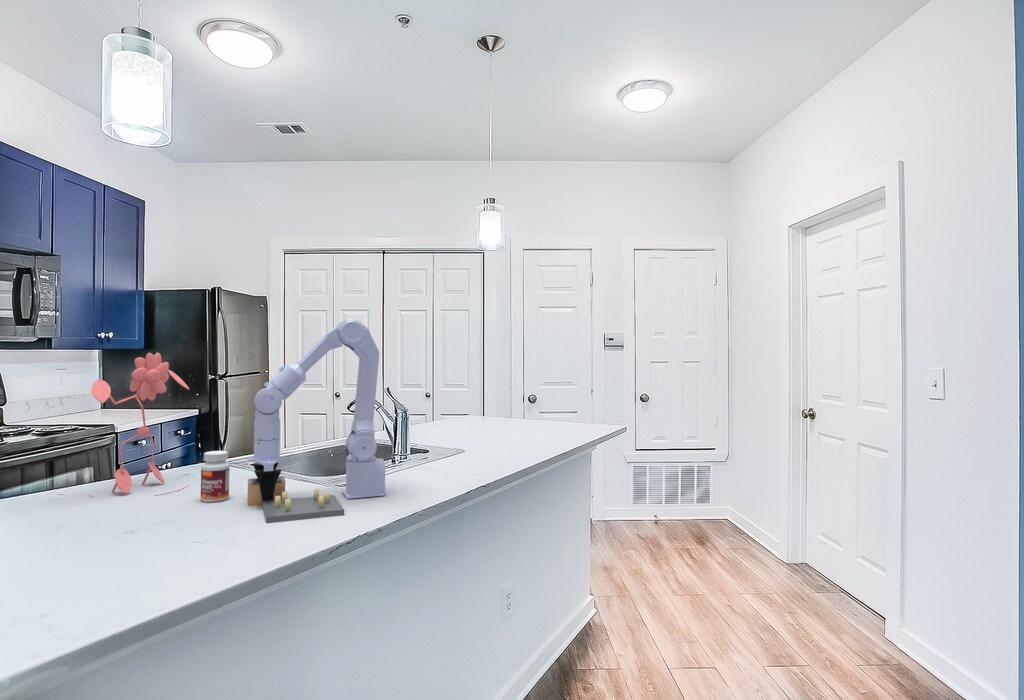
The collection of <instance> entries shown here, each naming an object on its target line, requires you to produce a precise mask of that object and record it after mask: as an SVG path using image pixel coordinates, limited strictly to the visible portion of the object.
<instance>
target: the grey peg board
mask: <svg viewBox="0 0 1024 700" xmlns="http://www.w3.org/2000/svg"><path fill="white" fill-rule="evenodd" d="M323 493H324V495H320V488H314V489H313V496H307V497H306V496H305V497H296V498H288V497H289V496H288V495H289V494H288V491H287V490H285V491H284V492H282V500H281V496H275V500H272V501H263V505H262V509H263V510H262V511H263V514H264V519H265V523H267V524H268V523H278V522H286V521H297V520H307V519H316V518H318V519H319V518H326V517H327V518H328V517H337V516H344V515H345V508H344V507H343V505H342V504H341V503H340V501H339V500H338V499H337V497H336V496H335V495H334V494H332V495H331V492H330V491H324V492H323Z"/></svg>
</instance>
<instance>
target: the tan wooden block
mask: <svg viewBox="0 0 1024 700" xmlns="http://www.w3.org/2000/svg"><path fill="white" fill-rule="evenodd" d="M284 491H286V478H285V476H284V475H282V476H279V477H278V479H277V482H276V485H275V490H274V495H273V498H272V500H275V496H281V500H282V492H284ZM246 500H247V506H248V507H253V506H254V507H255V506H263V501H272V500H262V496H261V490H260V484H259V480H258V478H257V477H255V478H247V499H246Z"/></svg>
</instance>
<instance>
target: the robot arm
mask: <svg viewBox="0 0 1024 700" xmlns="http://www.w3.org/2000/svg"><path fill="white" fill-rule="evenodd" d="M343 345H344V346H345V347H347V348H349V349H350V350H351V351H352V352H353V353H354V354H355V356H357V358H358V359H359V360H358V369H357V370H358V371H357V381H356V390H355V402H354V412H353V419H352V420H353V421H352V424H351V428H350V432H349V435H348V436H347V438H346V441H345V445H346V449H347V450H348V451H349V454H348V455H347V456H346V459H345V460H346V461H345V464H346V465H345V489H342V490H341V493H342V494H343V495H344V497H345V498H346V499H349V500H351V499H362V498H374V497H383V496H387V495H386V494H387V493H386V464H385V460H384V458H379V457H378V458H377V456H376V455H375V454H376V452H377V449H378V445H377V441H376V439H375V425H374V416H375V405H376V394H377V385H378V384H377V383H378V374H379V373H378V372H379V362H380V350H379V347H378V346H377V344H376V342H375V340H374V339H373V336H372V335H371V331H370V329H369V328H368V327H367V326H366V325H365V324H363V323H362V322H361V321H359V320H358V319H354V318H351V319H347V320H342V321H341V322H339V323H338V324H337V325H336V327H333V328H332V329H330V330H329V331H327V332H326V333H325V334H324V335H322V336H321V337H320V339H318V340H317V342H316V343H315V344H313V346H311V348H310V349H309V350H308V351H307V352H306V353H305V354H304V355H303V356H302V357H301V358H300V359H299V360H298V361H297V362H296V363H288V364H286V365H285V366H283V365H282V366H281V367H280V368H278V371H279V372H278V373H276V375H275V376H274V377H273V378H272V379H270V381H266V382H265V383H264V384H263V385H264V387H265V388H262V389H260V390H259V391H257V393H256V394H255V397H254V399H253V402H254V406H255V408H256V409H255V413H254V417H255V419H254V421H253V422H254V426H253V428H254V429H253V431H254V432H253V457H248V459H247V460H248V462H249V463H253V464H252V466H253V467H254V474H255V476H256V478H258V480H259V484H260V490H261V496H262V500H272V498H273V495H274V490H275V485H276V482H277V479H278V477H280V475H281V472H282V469H277V467H278V465H279V462H280V461H281V457H282V456H280V455H281V453H280V452H281V419H280V409H281V407H282V405H283V404H282V403H283V401H284V400H287V399H289V397H291V395H292V394H294V393H295V392H296V391H297V389H299V388H300V386H301V385H302V384H303V383H305V382H306V380H307V379H306V378H307V376H306V374H307V372H308V371H309V370H310V369H311V368H312V367H314V366H315V364H317V362H319V361H320V360H321V359H322V358H323V357H324V356H325V355H327V353H329V351H331V350H334V349H337V348H341V347H343Z"/></svg>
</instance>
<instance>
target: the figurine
mask: <svg viewBox="0 0 1024 700" xmlns="http://www.w3.org/2000/svg"><path fill="white" fill-rule="evenodd" d="M134 365H135V368H136V369H135V370H134V371H132V373H131V376H130V377H131V379H132V380H131V382H130V386H129V391H130V392H136V393H134V394H133V395H132V396H129V397H126V398H123V399H120V400H118V401H116V400H115V399H114V398H113V396H112V395H111V392H112V390H111V387H110V385H109V383H108V382H107V381H105V380H102V379H103V378H98V379H97V380H95V381H94V382H93V383H92V386H91V394H92V396H93V397H94V398H95V400H97V401H98V402H99V403H101V404H102V405H103V404H104V403H105V402H107V400H108V399H110V401H111V403H112V404H114V406H116V405H119V404H121V403H124V402H127V401H129V400H131V399H136V401H137V402H138V404H139V406H140V408H141V414H142V415H141V416H142V422H143V423H142V424H143V426H139V427H138V428H137V430H136V433H137V434H136V435H134V436H132V437H130V438H129V439H127V440H124V441H122V442H121V443H119V453H120V454H119V455H120V467H121V468H119V469H117V470H116V471H115V474H114V475H115V476H114V480H115V481H114V482H115V484H114V486H113V487H112V489H111V493H114V492H115V490H116V489H117V487H118V489H119V490H120V491H121V492H122V493H123V494H124V495H125V496H127V494H128V493H129V492H130V490H131V488H132V482H133V481H132V476H131V475H130V473H129V472H128V470H126V468H124V465H123V464H124V463H123V462H124V461H123V450H122V445H123V444H126V443H127V442H130V441H131V440H133V439H135V438H137V437H141V438H144V437H147V436H149V438H150V440H151V461H149V462H148V467H149V468H148V470H147V472H146V474H145V477H143V480H142V482H141V485H143V484H144V485H145V483H146V481H147V478H148V477H149V474H150V473H151V472H152V474H153V475H154V477H155V478H156V479H157V480H159V482H161V483H162V484H164V485H165V480H164V478H163V475H162V474H161V472H160V470H159V469H158V467H157V466H156V465H155V464H154V438H153V437H152V435H151V433H150V432H151V430H150V428H149V427H148V426H146V417H145V408H144V405H143V404H142V402H143V401H146V400H147V399H148V400H149V401H152V402H153V401H154V400H156V397H157V394H164V393H165V392H167V386H166V385H165V383H166V382H167V381H168V380H169V378H170V376H171V378H173V380H174V381H175V382H176V383H178V385H180V386H181V387H183V388H185V389H187V390H188V391H190V387H189V386H188V385H187V383H185V381H184V380H183V379H182V378H181V377H180V376H178V374H176V373H175V372H174V371H172V370H169V368H170V367H169V366H170V363H169V362H168V361H164V362H162V355H161V353H160V352H156V353H155V354H153V353H151V352H148V353H147V354H146V355H145V358H144V357H141V356H140V357H137V358H134ZM186 483H187V484H188V485H186V486H185V487H183V488H180V489H177V490H175V491H170V492H166V493H161V494H157V495H156V494H155V495H154V496H155V497H156V496H162V495H163V496H164V495H167V494H173V493H175V492H180V491H182V490H183V489H186V488H187V487H190V485H189V482H188V481H187V482H186ZM88 497H90V498H93V496H91V495H88Z"/></svg>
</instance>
